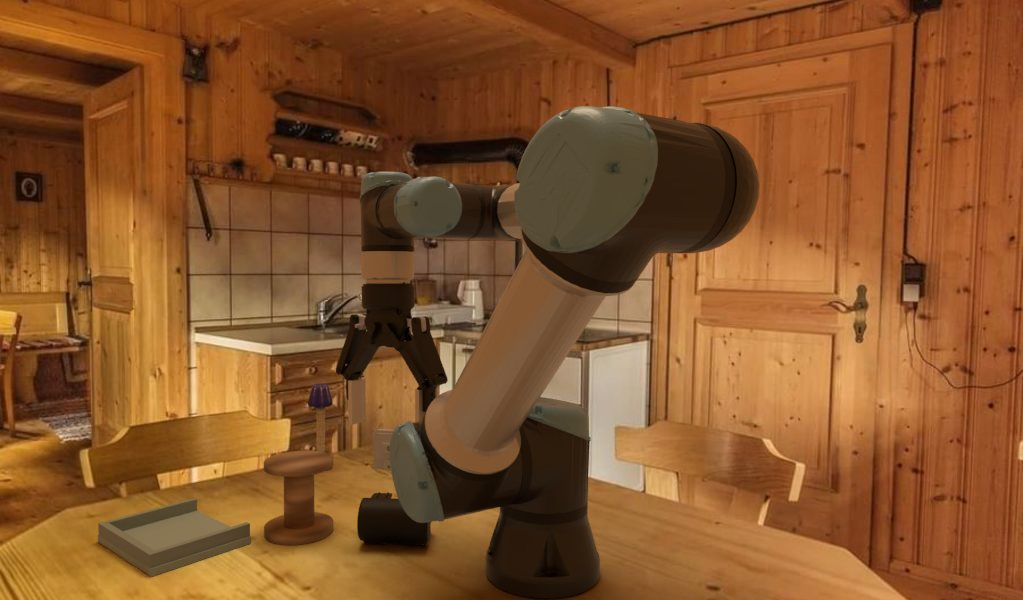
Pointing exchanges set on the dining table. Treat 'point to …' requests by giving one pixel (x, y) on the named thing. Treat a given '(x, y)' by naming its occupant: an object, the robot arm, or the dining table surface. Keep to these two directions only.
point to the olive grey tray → (170, 537)
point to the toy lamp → (320, 411)
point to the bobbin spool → (298, 498)
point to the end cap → (389, 522)
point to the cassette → (382, 448)
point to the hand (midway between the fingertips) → (389, 428)
